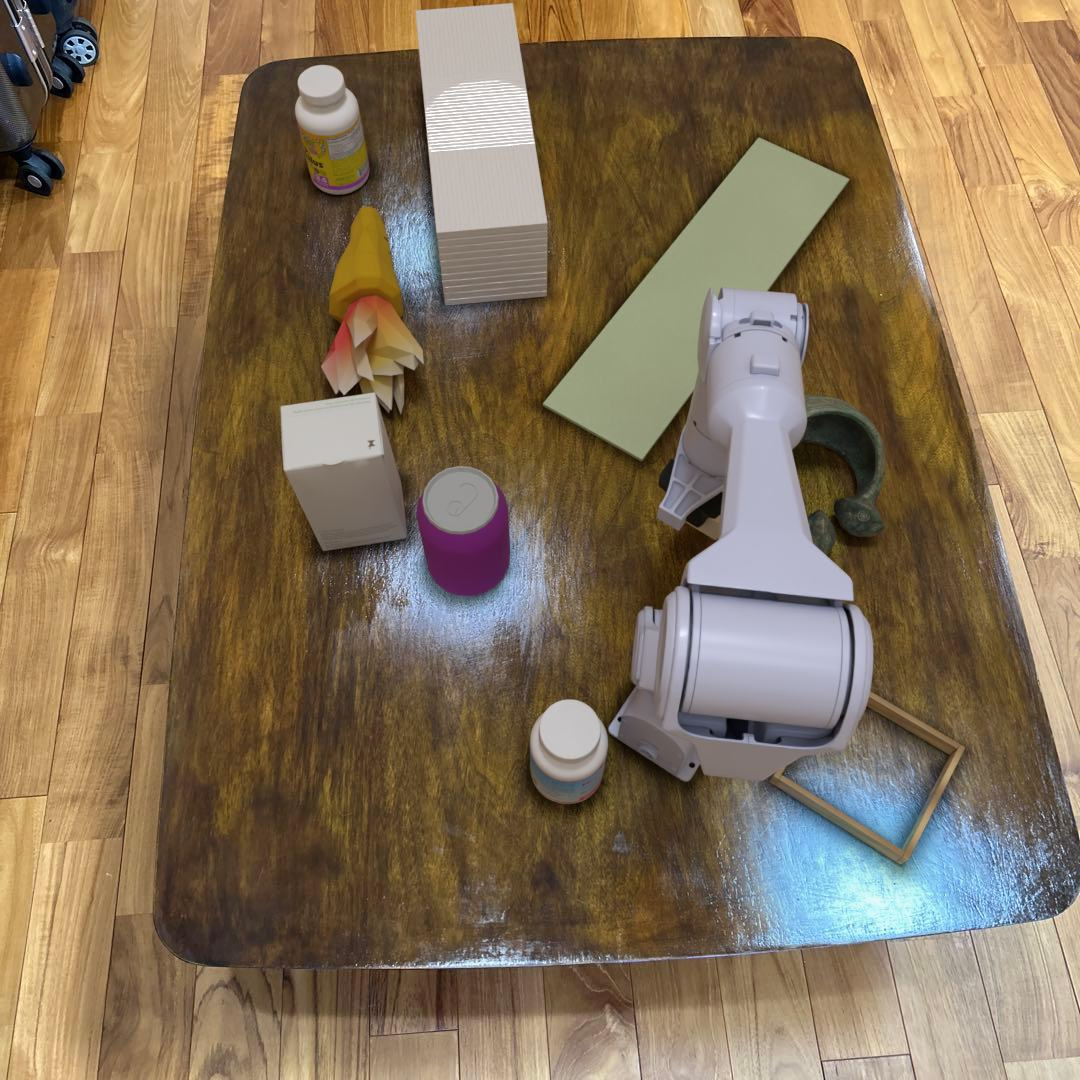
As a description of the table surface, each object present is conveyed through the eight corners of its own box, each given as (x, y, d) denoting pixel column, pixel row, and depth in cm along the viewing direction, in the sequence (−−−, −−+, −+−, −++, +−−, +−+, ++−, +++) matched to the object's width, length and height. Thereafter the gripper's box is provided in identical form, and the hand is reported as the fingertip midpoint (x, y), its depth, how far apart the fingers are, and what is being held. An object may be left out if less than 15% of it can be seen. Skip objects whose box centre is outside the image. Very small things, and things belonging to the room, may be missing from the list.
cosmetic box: (402, 482, 102) (380, 387, 89) (409, 544, 99) (388, 455, 86) (313, 494, 102) (278, 401, 88) (318, 556, 99) (282, 469, 85)
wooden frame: (900, 865, 86) (908, 860, 85) (768, 782, 89) (773, 776, 88) (957, 753, 90) (965, 747, 89) (829, 678, 94) (835, 670, 92)
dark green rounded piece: (781, 598, 97) (806, 548, 88) (687, 474, 103) (701, 416, 94) (911, 523, 100) (947, 467, 92) (813, 407, 106) (838, 345, 97)
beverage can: (481, 615, 96) (474, 556, 86) (410, 575, 98) (394, 512, 87) (526, 549, 99) (525, 484, 88) (457, 511, 101) (447, 443, 90)
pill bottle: (596, 812, 88) (603, 776, 78) (523, 797, 89) (521, 760, 79) (609, 741, 91) (617, 698, 81) (538, 727, 92) (538, 683, 81)
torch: (385, 261, 120) (395, 433, 105) (315, 240, 116) (316, 414, 102) (412, 204, 114) (427, 377, 100) (340, 180, 110) (345, 356, 96)
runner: (641, 462, 103) (642, 459, 103) (542, 406, 106) (542, 403, 106) (848, 182, 120) (849, 178, 120) (757, 140, 123) (758, 137, 123)
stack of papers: (546, 296, 113) (547, 222, 103) (445, 305, 112) (436, 232, 102) (514, 84, 127) (512, 2, 117) (424, 92, 127) (415, 10, 117)
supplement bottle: (303, 165, 121) (278, 68, 110) (358, 147, 122) (339, 49, 111) (323, 205, 118) (300, 110, 107) (379, 186, 120) (362, 91, 108)
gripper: (726, 514, 74) (700, 590, 86) (827, 368, 79) (788, 460, 91) (639, 463, 76) (626, 545, 88) (743, 324, 81) (717, 420, 93)
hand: (704, 499), depth 90 cm, fingers closed on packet, 4 cm apart
